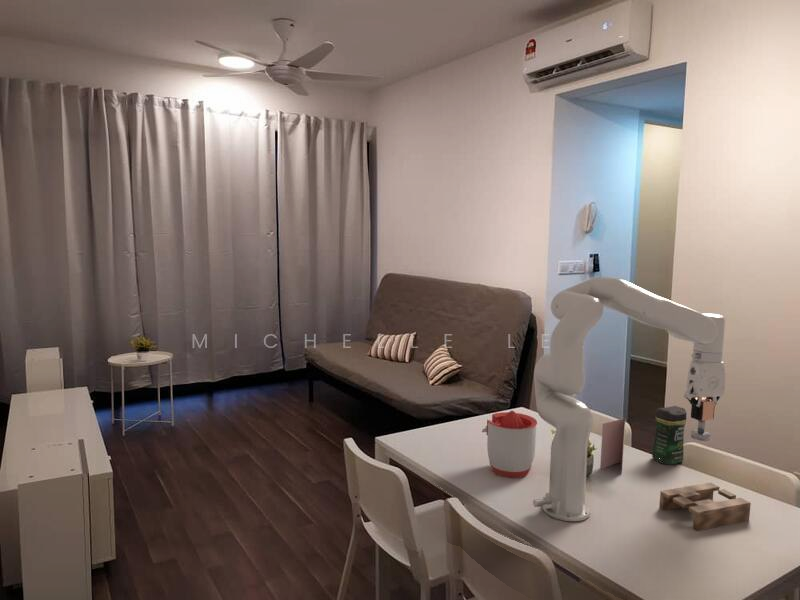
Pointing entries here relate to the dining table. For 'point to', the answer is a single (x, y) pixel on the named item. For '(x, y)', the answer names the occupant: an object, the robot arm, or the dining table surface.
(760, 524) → the dining table surface
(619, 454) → the greeting card
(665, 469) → the dining table surface
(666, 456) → the coffee jar
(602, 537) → the dining table surface
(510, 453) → the citrus juicer
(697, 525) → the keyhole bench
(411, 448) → the dining table surface
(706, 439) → the keyhole peg
